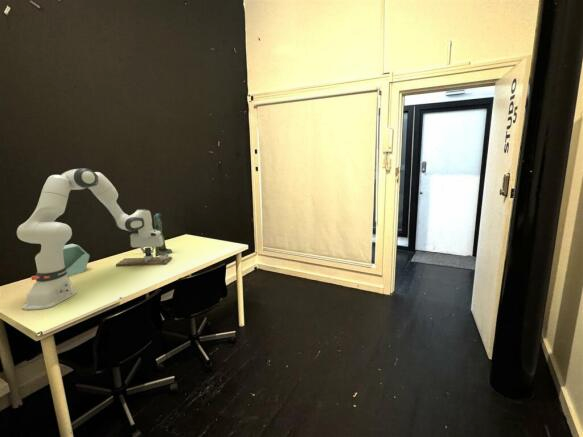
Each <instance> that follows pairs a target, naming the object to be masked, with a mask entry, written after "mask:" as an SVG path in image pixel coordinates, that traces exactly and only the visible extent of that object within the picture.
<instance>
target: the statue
mask: <svg viewBox="0 0 583 437" xmlns="http://www.w3.org/2000/svg"><path fill="white" fill-rule="evenodd" d="M161 216H162V213H155V215H153V222H154V224H153V225H154V230H158V231H161V234H160V235H161V236H162V238H163V245H162V246H160V247H155V248H154V251H155V253H154V254H155V256H156V257H159V256H160V255H162V253H165V254H168V255H169V254H172V253H173V251H172V249H171V248H167V246H166V241H165V235H164V234H163V222H162V219H161Z"/></svg>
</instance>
